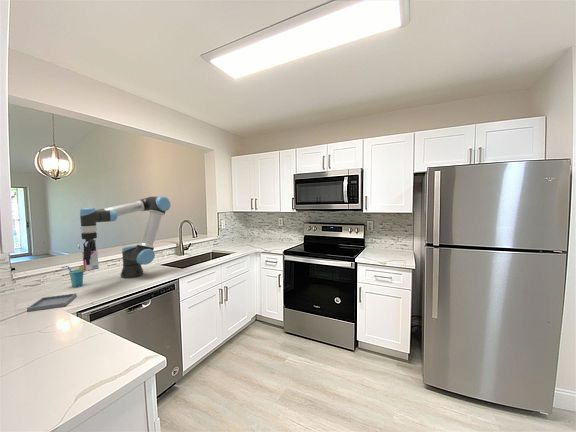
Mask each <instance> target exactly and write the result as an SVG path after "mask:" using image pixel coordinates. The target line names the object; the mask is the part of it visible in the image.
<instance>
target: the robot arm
mask: <svg viewBox="0 0 576 432" xmlns="http://www.w3.org/2000/svg"><path fill="white" fill-rule="evenodd" d="M79 209H80V210H79V218H80V220H79V221H80V227H79V229H80V232H81V234H80V235H81V236H80V237H81V239H82V240H85V242H83V243H82V244H83V245H82V246H83V252H84V259H83V258H82V261H83V260H85V263H86V270H90V271H93V270H92V264H91V251H97V246H96V245H97V244H96V239H97V238H98V232H97V230H98V229H97V228H98V227H97V223H108V222H110V223H112V222H115V221H117V219H118V217H120V216H125V215H128V214H132V213H137V212H141V213H142V212H145V211H146V212H149V215H148V218H147V221H146V224H145V227H144V230H143V233H142V237H141V239H140V242H139V243H137V244H136V245H131V246H126V247H125V246H124V247H123V248H122V251H121V253H122V269H121V272H120V278H122V279H132V278H134V279H135V278H137V277H141V276H143V275H144V274H145V273H144V268H143V266H144V265H150V264H151V263H152V262H153V261H154V259H155V257H156V255H155V254H156V253H155V251H154V249H155V247H154V243H155V239H156V237H157V232H158V229H159V226H160V224H161V219H162V217H163V216H165V214H166V212H167V211H169V210H170V209H171V201H170V199H169V198H168V197H166V196H162V195H158V196H148V197H145V198H142V199H141V198H140V199H137V200H136V201H134V202H128V203H124V204H119V205H118V204H117V205H114V206H109V207H105V208H101V209H96V208H95V207H82V208H79ZM142 265H143V266H142Z"/></svg>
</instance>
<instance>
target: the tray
mask: <svg viewBox="0 0 576 432" xmlns="http://www.w3.org/2000/svg"><path fill="white" fill-rule="evenodd" d="M77 295H78V294H77V293H75V292H74V293H68V294H61V295H60V294H59V295H52V296H43V297H41V298H40V299H38V300H36V301H35V302H33V303H32V304H31V305H29V306H28V307H26V313H29V312H35V311H42V310H49V309H50V310H52V309H56V308H64V307H67V306H68V305H69V304H70V303H71V302H73V300H75V299H76V298H77Z"/></svg>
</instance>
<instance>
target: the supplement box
mask: <svg viewBox="0 0 576 432" xmlns="http://www.w3.org/2000/svg"><path fill="white" fill-rule="evenodd" d="M83 259H84V251H83V252H82V262H83V263H82V265H84V270H86V263H85V260H83ZM91 264H92V270H87V271H86V272H91V271H94V270H99V269H100V266H99V265H100V264H99V254H98V250H96V251H91Z"/></svg>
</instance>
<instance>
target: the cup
mask: <svg viewBox="0 0 576 432" xmlns="http://www.w3.org/2000/svg"><path fill="white" fill-rule="evenodd" d="M64 268H65V269H66V268H67V269H68V274H69V277H70V278H69V279H70V281H71V282H70V283H71V287H72V288H73V287H74V288H79V286H80V287H82V286H83V283H84V273H85V272H88V271H87V270H84V265H83V264H82V265H80V266H79V267H78V269H75V270H72V269H71V267H70V266H68V265H65V266H61V267H60V269H64Z"/></svg>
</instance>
